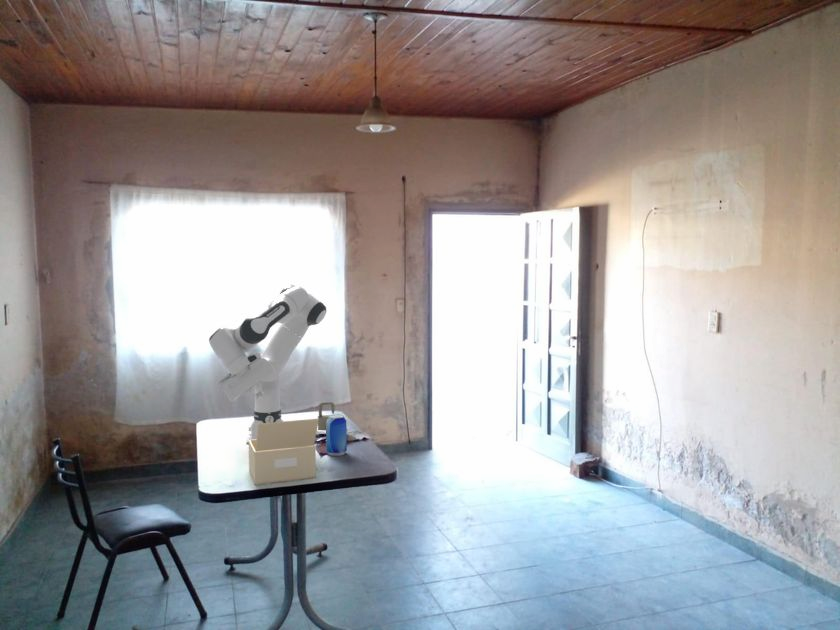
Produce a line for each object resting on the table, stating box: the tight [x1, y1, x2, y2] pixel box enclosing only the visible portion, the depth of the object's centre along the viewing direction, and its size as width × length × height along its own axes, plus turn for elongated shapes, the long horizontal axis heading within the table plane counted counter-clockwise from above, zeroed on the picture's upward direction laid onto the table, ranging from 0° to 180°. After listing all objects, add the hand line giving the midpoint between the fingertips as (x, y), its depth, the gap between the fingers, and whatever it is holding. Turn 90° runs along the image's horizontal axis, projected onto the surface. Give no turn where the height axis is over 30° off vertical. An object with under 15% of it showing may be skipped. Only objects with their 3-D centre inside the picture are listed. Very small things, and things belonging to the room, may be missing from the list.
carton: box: [248, 439, 317, 486], centre depth 250 cm, size 18×22×12 cm
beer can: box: [325, 413, 348, 457], centre depth 278 cm, size 8×8×16 cm
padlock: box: [317, 401, 336, 431], centre depth 312 cm, size 4×8×15 cm, turn 103°
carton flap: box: [256, 418, 319, 451], centre depth 237 cm, size 14×21×1 cm
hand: (260, 396), depth 252 cm, fingers closed
